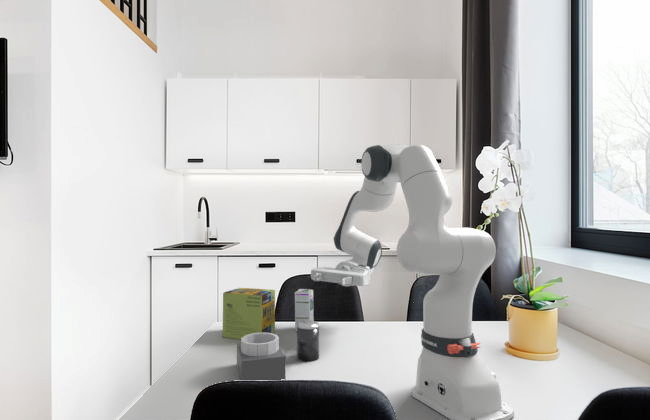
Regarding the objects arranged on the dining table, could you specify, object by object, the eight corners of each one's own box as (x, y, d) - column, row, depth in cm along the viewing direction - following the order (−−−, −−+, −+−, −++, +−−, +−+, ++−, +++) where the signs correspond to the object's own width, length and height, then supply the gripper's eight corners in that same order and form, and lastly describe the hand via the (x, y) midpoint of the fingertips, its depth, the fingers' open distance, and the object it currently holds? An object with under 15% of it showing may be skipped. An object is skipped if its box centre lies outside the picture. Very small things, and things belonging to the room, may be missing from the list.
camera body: (285, 379, 97) (285, 344, 97) (241, 385, 93) (241, 349, 93) (275, 360, 110) (275, 328, 110) (236, 364, 106) (236, 332, 107)
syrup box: (310, 332, 136) (310, 292, 136) (294, 331, 137) (294, 291, 137) (314, 328, 142) (314, 289, 142) (298, 327, 143) (298, 288, 143)
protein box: (262, 342, 126) (262, 295, 126) (222, 337, 131) (222, 292, 131) (275, 332, 136) (275, 289, 136) (237, 328, 141) (238, 287, 141)
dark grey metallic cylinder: (321, 360, 110) (321, 325, 110) (300, 363, 108) (300, 327, 108) (315, 352, 116) (315, 320, 116) (294, 355, 114) (295, 321, 114)
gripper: (322, 261, 139) (301, 267, 127) (373, 267, 129) (356, 273, 117) (322, 278, 139) (301, 286, 128) (373, 285, 129) (355, 294, 117)
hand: (327, 280), depth 122 cm, fingers open, 8 cm apart
